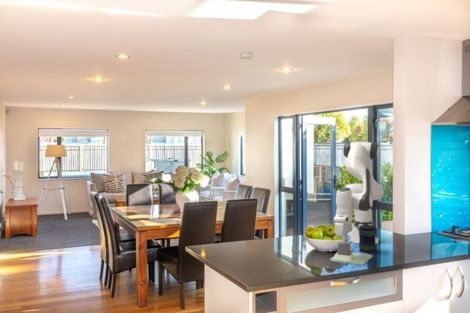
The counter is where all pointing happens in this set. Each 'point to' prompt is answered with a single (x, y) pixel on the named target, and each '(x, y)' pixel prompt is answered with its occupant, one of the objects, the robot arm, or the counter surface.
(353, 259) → the board
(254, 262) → the counter surface
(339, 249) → the plug
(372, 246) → the storage jar
